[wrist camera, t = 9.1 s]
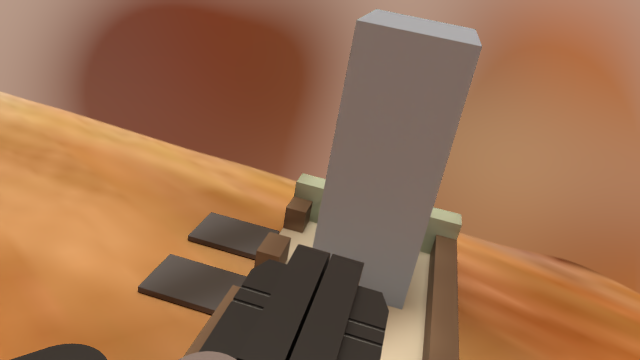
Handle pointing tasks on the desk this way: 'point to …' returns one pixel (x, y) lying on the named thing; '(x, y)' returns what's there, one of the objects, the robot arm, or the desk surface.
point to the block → (393, 143)
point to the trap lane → (299, 228)
